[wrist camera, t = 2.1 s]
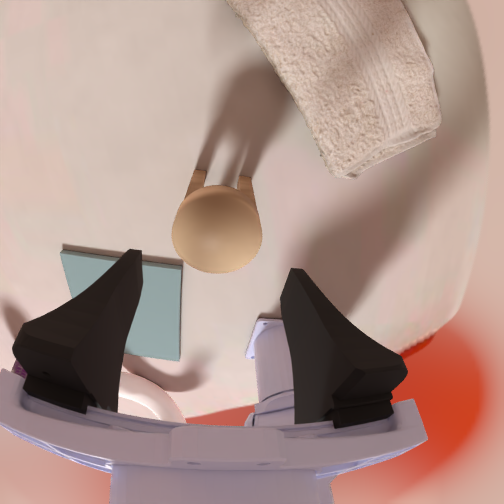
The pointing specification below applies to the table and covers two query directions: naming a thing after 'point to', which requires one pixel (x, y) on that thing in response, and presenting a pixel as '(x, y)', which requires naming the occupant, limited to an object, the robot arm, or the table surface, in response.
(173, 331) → the mat
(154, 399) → the banana
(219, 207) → the tan piece
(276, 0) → the washcloth
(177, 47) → the table surface
